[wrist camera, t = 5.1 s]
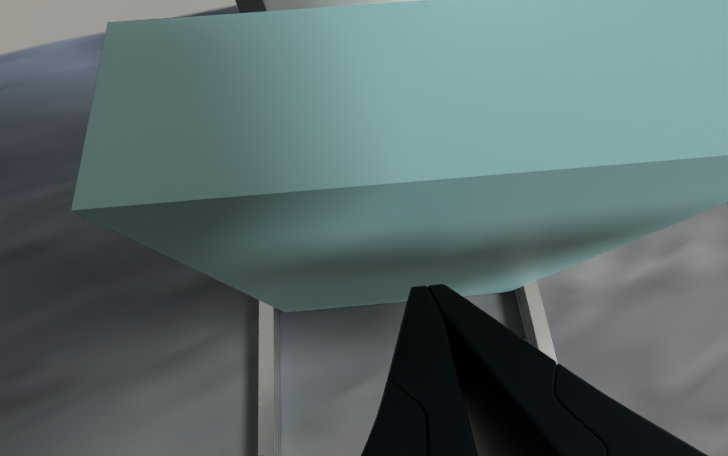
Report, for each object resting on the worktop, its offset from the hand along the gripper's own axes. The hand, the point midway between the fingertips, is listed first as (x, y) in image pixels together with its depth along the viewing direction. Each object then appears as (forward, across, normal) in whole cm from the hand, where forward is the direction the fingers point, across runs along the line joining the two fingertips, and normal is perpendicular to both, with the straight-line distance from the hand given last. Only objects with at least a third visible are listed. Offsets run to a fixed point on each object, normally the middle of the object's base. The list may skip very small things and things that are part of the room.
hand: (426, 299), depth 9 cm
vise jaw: (+7, 0, +3) cm, 7 cm away
